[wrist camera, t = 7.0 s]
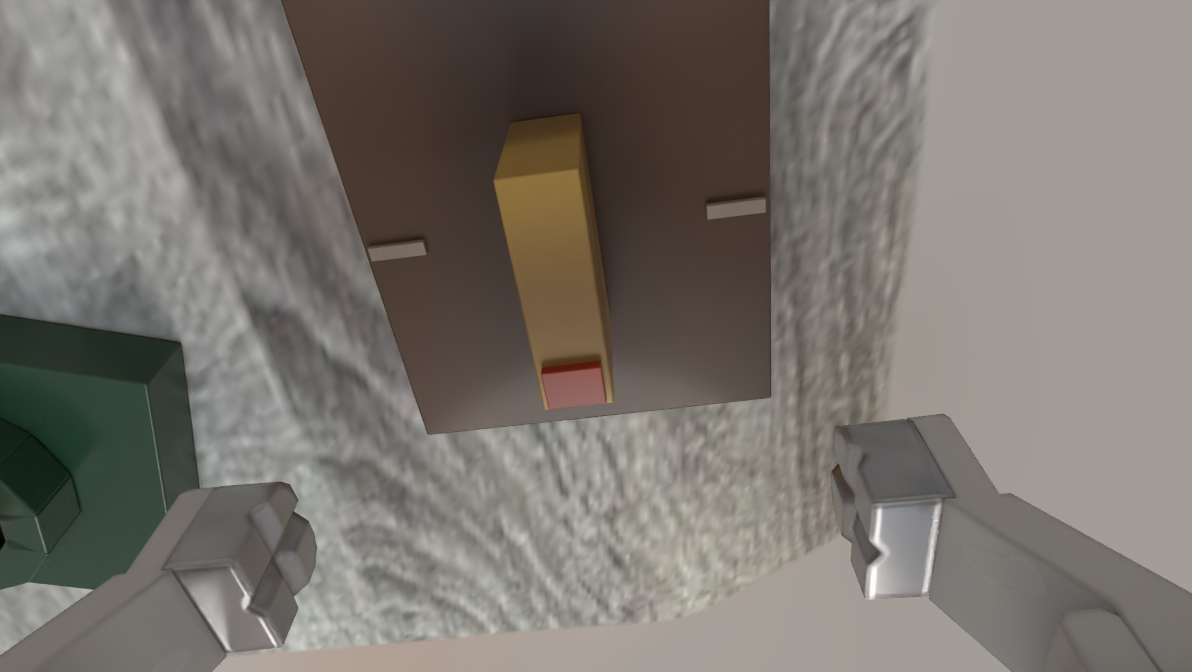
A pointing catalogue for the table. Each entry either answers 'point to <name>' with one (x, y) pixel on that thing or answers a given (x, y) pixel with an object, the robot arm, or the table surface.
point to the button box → (86, 450)
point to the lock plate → (617, 174)
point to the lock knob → (557, 259)
